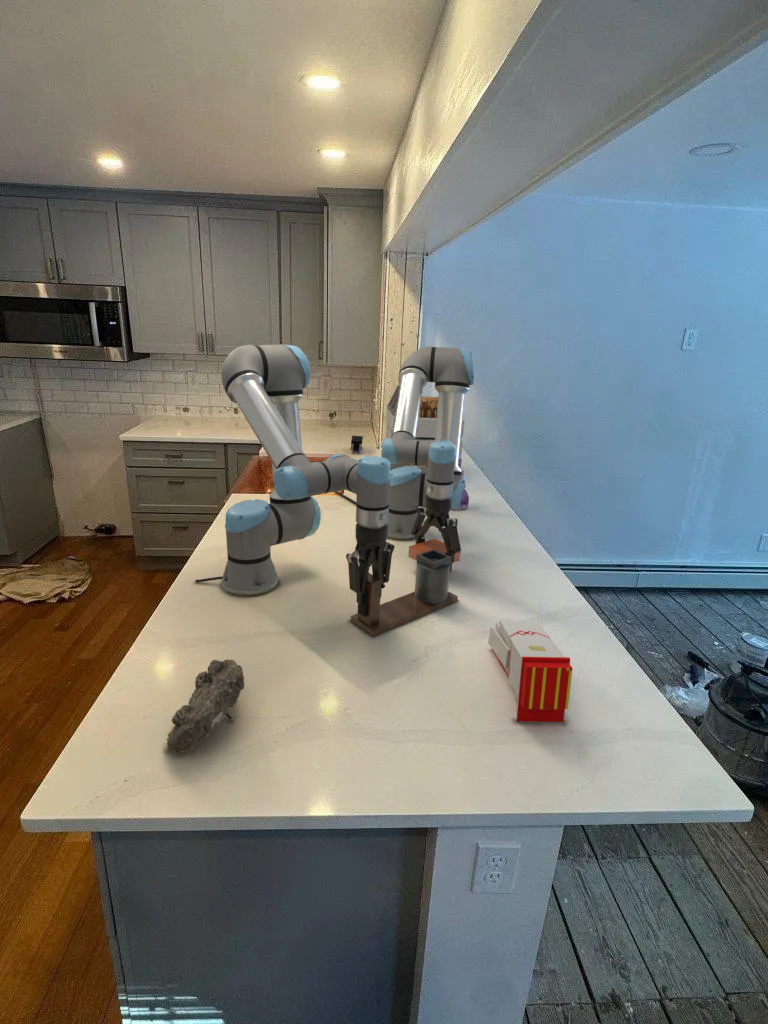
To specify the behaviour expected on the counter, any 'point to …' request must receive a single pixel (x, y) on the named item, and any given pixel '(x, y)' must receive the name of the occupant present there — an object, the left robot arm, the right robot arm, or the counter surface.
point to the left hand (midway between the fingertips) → (368, 612)
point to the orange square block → (429, 548)
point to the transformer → (419, 422)
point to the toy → (533, 669)
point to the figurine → (463, 497)
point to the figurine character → (356, 443)
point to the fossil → (206, 705)
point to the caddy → (409, 595)
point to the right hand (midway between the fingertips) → (433, 565)
